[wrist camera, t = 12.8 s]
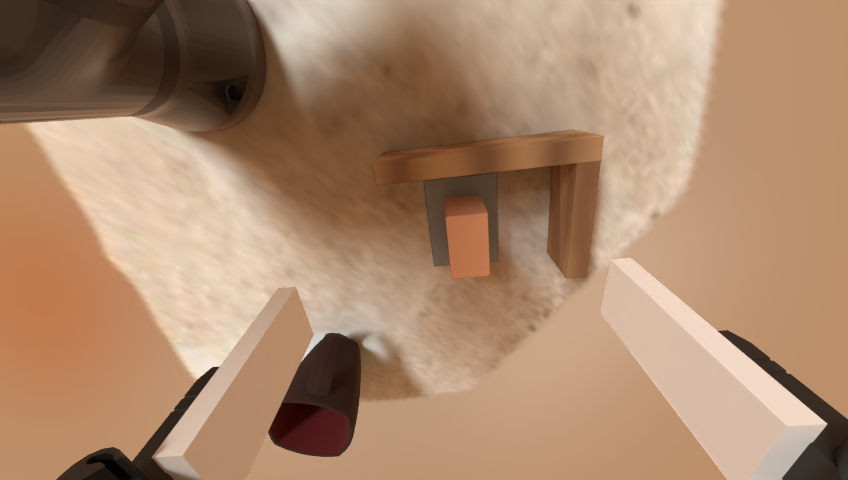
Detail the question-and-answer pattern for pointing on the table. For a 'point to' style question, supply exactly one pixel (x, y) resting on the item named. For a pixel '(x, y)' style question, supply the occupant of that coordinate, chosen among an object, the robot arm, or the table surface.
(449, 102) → the table surface
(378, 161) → the corner walls
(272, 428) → the mug
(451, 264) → the block
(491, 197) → the pad
